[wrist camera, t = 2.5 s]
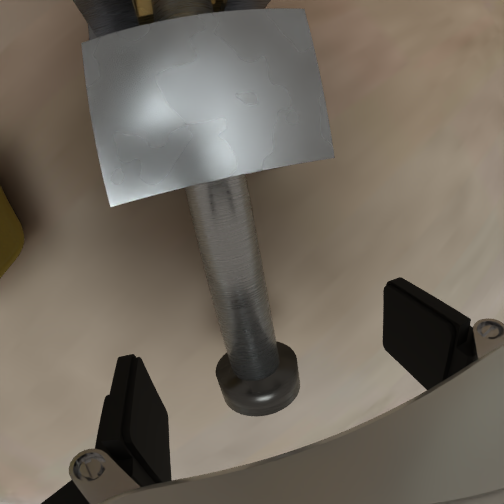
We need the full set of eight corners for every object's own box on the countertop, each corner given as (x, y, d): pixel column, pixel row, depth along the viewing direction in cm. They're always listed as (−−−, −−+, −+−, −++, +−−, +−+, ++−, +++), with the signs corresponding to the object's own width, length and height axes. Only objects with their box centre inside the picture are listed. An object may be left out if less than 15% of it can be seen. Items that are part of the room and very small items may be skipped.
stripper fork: (115, 58, 17) (73, -10, 7) (240, 34, 18) (290, -42, 8) (116, 66, 17) (73, 0, 7) (242, 41, 18) (294, -32, 9)
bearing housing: (103, 89, 17) (42, 35, 7) (261, 58, 19) (332, -9, 9) (126, 201, 20) (79, 246, 10) (281, 165, 22) (370, 178, 11)
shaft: (129, -45, 11) (121, -90, 6) (207, -57, 12) (219, -103, 7) (218, 374, 20) (231, 425, 16) (285, 355, 21) (311, 400, 16)
